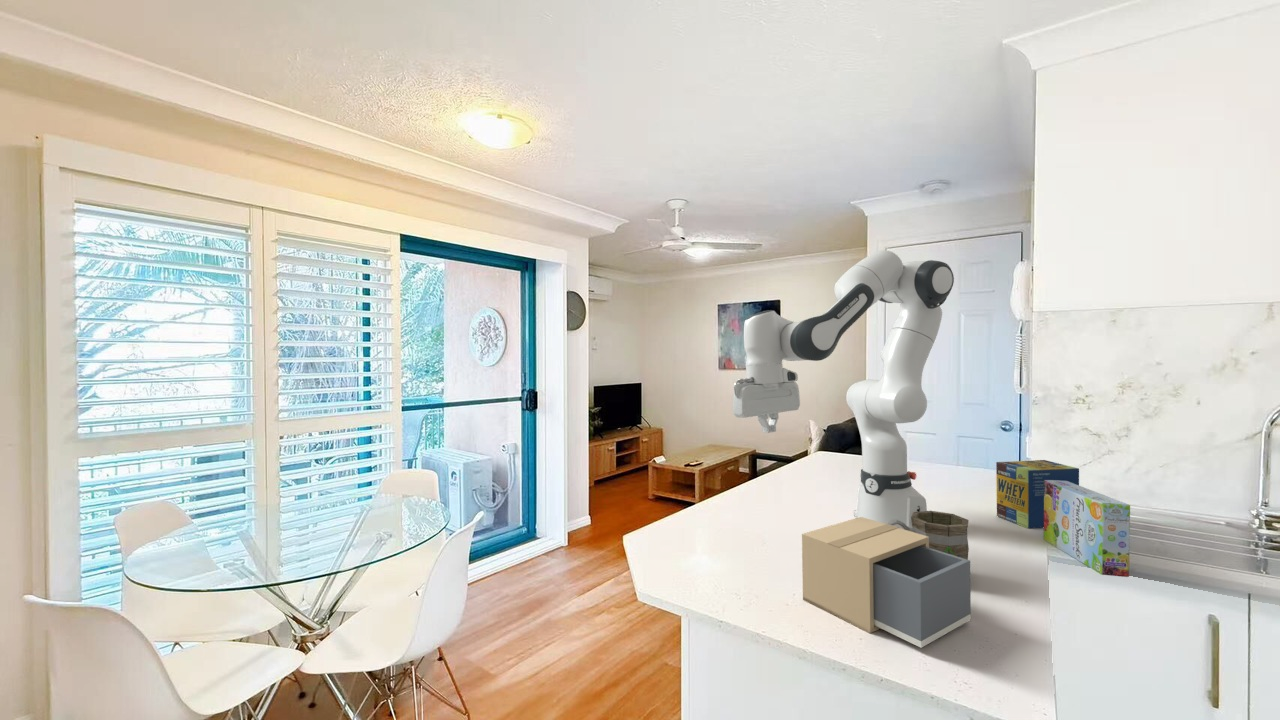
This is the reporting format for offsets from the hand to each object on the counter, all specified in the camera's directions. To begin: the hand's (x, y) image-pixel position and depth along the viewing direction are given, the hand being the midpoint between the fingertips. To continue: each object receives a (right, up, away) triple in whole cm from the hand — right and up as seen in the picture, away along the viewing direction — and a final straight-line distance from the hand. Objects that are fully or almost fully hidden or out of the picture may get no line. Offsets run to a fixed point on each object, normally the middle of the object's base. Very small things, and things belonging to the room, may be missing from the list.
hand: (769, 432), depth 125 cm
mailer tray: (+12, -27, -33) cm, 45 cm away
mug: (+28, -27, -19) cm, 44 cm away
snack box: (+68, -27, -11) cm, 74 cm away
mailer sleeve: (+10, -27, -30) cm, 42 cm away
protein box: (+76, -26, +13) cm, 82 cm away
